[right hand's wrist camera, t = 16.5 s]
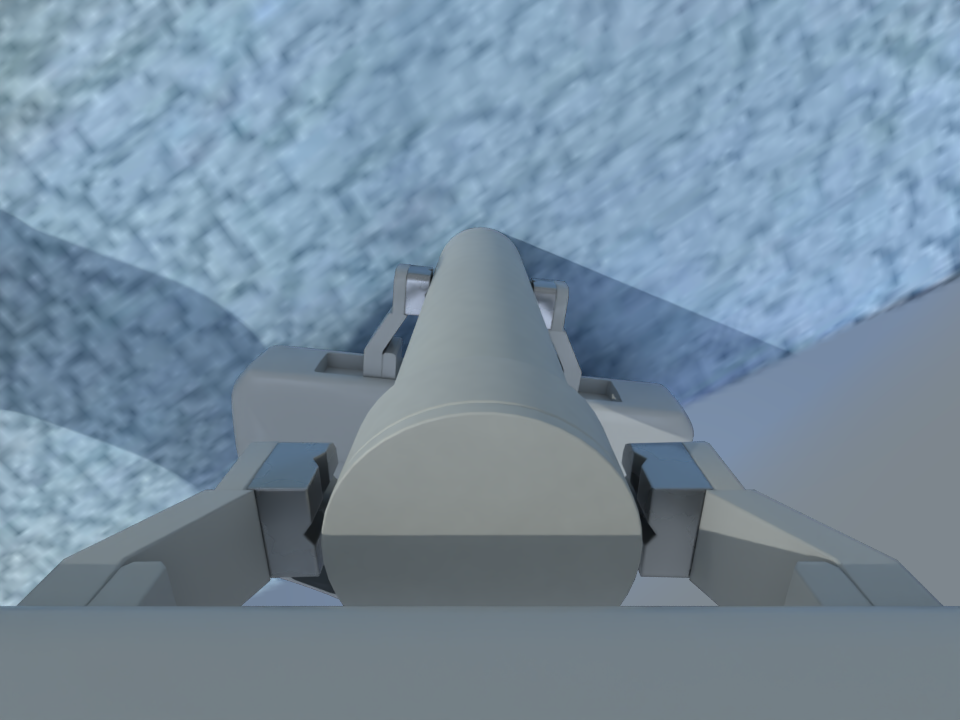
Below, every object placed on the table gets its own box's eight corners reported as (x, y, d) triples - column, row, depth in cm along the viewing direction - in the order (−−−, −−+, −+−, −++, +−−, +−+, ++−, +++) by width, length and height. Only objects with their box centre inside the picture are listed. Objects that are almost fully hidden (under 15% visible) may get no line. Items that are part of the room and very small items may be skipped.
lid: (660, 422, 10) (708, 494, 8) (534, 605, 12) (545, 704, 10) (414, 308, 9) (395, 355, 7) (316, 522, 11) (277, 611, 9)
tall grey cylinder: (510, 318, 28) (569, 640, 10) (430, 300, 28) (336, 600, 10) (531, 238, 27) (648, 442, 8) (447, 218, 26) (373, 386, 8)
